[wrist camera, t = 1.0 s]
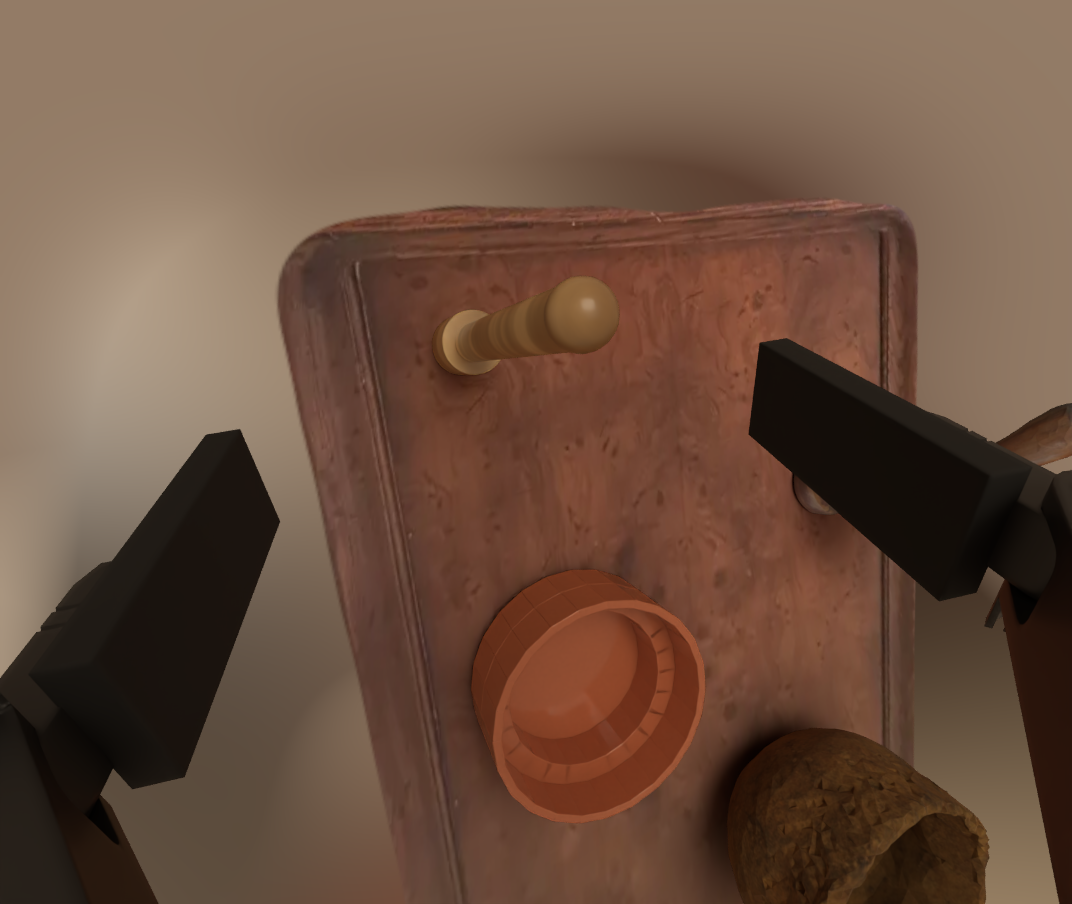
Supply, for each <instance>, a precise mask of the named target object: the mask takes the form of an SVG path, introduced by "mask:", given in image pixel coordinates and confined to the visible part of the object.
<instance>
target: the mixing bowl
mask: <svg viewBox="0 0 1072 904" xmlns="http://www.w3.org/2000/svg"><path fill="white" fill-rule="evenodd" d="M705 690H706V684H705V673H704V663H703V659H702V657H701V654H700V651H699V649H698V646H697V643H696V641H695V638H694V637H693V636H692V634H691V633H690V632H689V631H688V629H687V628H686V627H685V625H684V624H683V623H682V622H681V620H680V619H678V618H677V617H676V616H674V615H673V614H671V613H670V612H669V611H667V610H666V609H665V608H663V607H662V606H660V605H659V604H658V603H656V602H655V601H653V600H652V599H651V598H649V597H648V596H646V595H645V594H644V593H642V592H641V591H640V590H638V589H637V588H635V587H634V586H632V585H631V584H629V583H628V582H626V581H625V580H623V579H622V578H620V577H619V576H617V575H613V574H610V573H606V572H603V571H599V570H595V569H592V570H569V571H565V572H562V573H558V574H555V575H551V576H548V577H546V578H543V579H541V580H540V581H538V582H536V583H534V584H533V585H531V586H529V587H528V588H526V589H524V590H522V591H521V592H520V593H519V594H518V595H517V596H516V597H515V598H514V599H513V600H511V601H510V602H509V603H508V604H507V605H506V606H505V607H504V608H503V609H502V610H501V611H500V612H499V613H498V615H497V616H496V618H495V619H494V621H493V622H492V624H491V625H490V627H489V628H488V630H487V631H486V633H485V634H484V636H483V639H482V641H481V644H480V647H479V649H478V652H477V655H476V658H475V660H474V665H473V675H472V685H471V693H472V698H473V704H474V709H475V714H476V717H477V720H478V722H479V725H480V727H481V730H482V732H483V735H484V737H485V740H486V743H487V745H488V748H489V750H490V753H491V755H492V758H493V760H494V763H495V765H496V768H497V771H498V773H499V774H500V776H501V778H502V780H503V782H504V784H505V786H506V787H507V789H508V791H509V793H510V794H511V795H512V796H513V797H514V798H515V799H516V800H517V801H518V802H519V803H520V804H522V805H523V806H524V807H525V808H526V809H527V810H528V811H530V812H531V813H534V814H536V815H539V816H541V817H544V818H546V819H549V820H551V821H555V822H568V823H585V822H590V821H595V820H600V819H605V818H608V817H611V816H613V815H615V814H617V813H619V812H622V811H624V810H626V809H628V808H630V807H632V806H634V805H635V804H637V803H638V802H639V801H641V800H642V799H643V798H645V797H646V796H647V795H649V794H650V793H651V792H653V791H654V790H655V789H656V788H658V787H659V786H660V785H661V783H662V782H663V781H664V780H665V779H666V778H667V777H668V776H669V775H670V774H671V772H672V771H673V770H674V769H675V768H676V766H677V765H678V764H679V762H680V761H681V759H682V757H683V756H684V754H685V752H686V751H687V749H688V748H689V746H690V744H691V743H692V740H693V738H694V735H695V732H696V730H697V727H698V724H699V722H700V719H701V716H702V711H703V704H704V697H705Z"/></svg>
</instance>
